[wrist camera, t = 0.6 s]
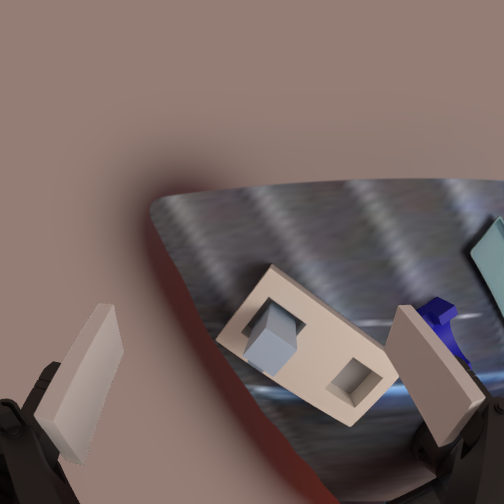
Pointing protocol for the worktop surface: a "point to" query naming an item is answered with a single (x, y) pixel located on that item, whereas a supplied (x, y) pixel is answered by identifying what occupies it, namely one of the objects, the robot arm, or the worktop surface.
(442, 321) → the blue angular bent piece
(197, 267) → the worktop surface
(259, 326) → the plug
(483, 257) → the rectangular tray
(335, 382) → the socket strip
